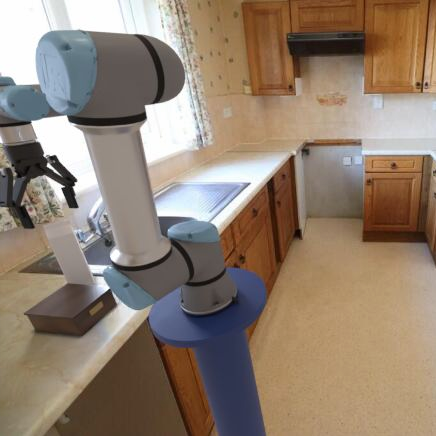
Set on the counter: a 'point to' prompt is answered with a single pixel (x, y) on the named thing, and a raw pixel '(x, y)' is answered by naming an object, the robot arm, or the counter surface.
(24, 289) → the counter surface
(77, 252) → the milk
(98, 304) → the walnut box
